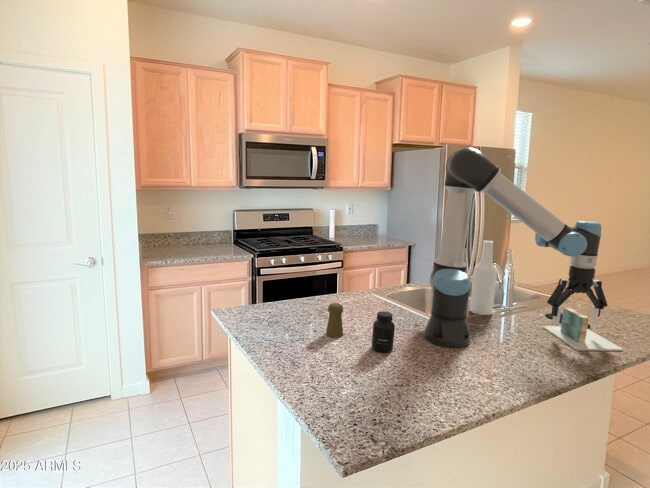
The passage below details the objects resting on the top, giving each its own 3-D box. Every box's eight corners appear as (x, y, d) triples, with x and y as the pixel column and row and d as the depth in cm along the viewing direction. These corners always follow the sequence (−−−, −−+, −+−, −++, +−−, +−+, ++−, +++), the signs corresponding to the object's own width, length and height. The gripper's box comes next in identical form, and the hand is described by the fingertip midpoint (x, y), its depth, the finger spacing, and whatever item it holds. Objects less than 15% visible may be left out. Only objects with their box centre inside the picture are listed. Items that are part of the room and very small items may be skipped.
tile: (560, 331, 151) (563, 307, 150) (566, 331, 151) (570, 308, 150) (578, 342, 141) (581, 317, 140) (584, 342, 142) (588, 317, 140)
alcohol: (492, 317, 165) (500, 243, 160) (469, 314, 168) (476, 241, 163) (491, 310, 174) (499, 240, 168) (469, 307, 176) (476, 238, 171)
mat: (576, 350, 136) (576, 348, 136) (542, 327, 156) (542, 326, 156) (623, 350, 137) (623, 349, 137) (583, 328, 157) (583, 326, 157)
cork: (346, 333, 144) (347, 303, 142) (339, 339, 139) (340, 308, 137) (330, 329, 147) (331, 300, 145) (322, 335, 141) (324, 305, 139)
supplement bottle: (379, 355, 128) (381, 318, 125) (367, 347, 134) (369, 311, 131) (397, 351, 131) (400, 315, 129) (384, 343, 137) (387, 308, 135)
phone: (558, 312, 172) (591, 325, 158) (558, 315, 172) (591, 328, 158) (543, 314, 169) (576, 327, 155) (543, 316, 169) (576, 330, 156)
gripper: (554, 268, 138) (545, 328, 141) (625, 269, 139) (615, 329, 143) (541, 263, 145) (533, 320, 149) (609, 264, 146) (600, 321, 150)
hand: (574, 325), depth 146 cm, fingers open, 13 cm apart
